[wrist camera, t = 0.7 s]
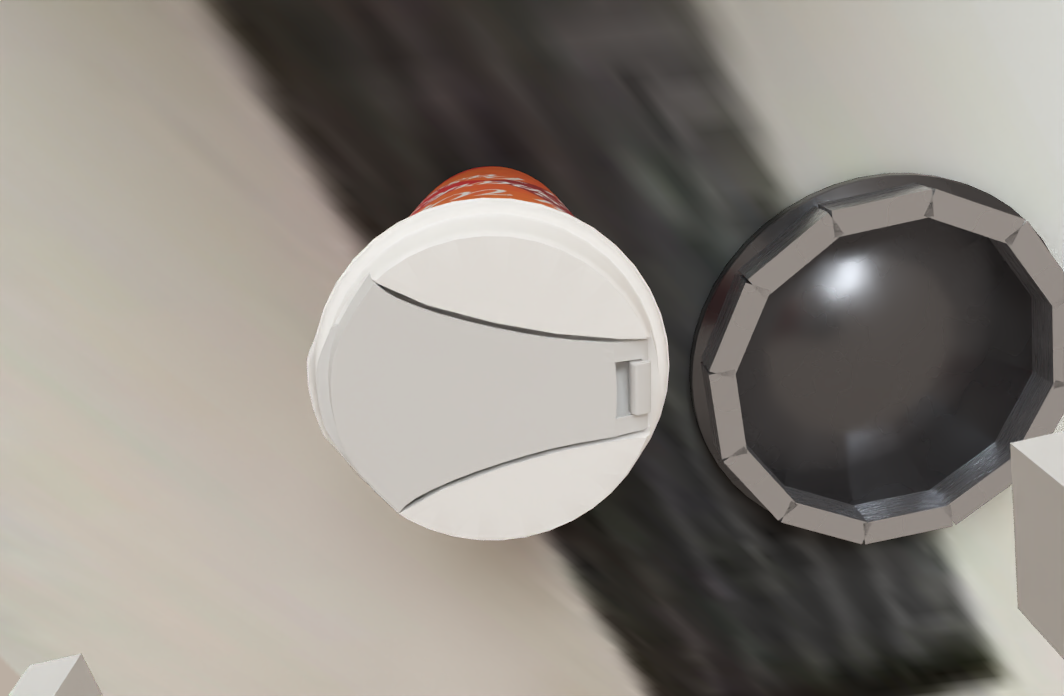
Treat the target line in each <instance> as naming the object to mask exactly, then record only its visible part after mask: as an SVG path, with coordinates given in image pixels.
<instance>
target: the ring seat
mask: <svg viewBox="0 0 1064 696" xmlns="http://www.w3.org/2000/svg"><path fill="white" fill-rule="evenodd" d="M690 389H691V400H692V404H693V408H694V412H695V417H696V421H697V423H698V426H699V428H700V431H701V433H702V436H703V438H704V441H705V443H706V445H707V447H708V448H709V450H710V452H711V454H712V455H713V457H714V459H715V460H716V462H717V464H718V465H719V467H720V468H721V469H722V471H723V472H724V473H725V474H726V476H727V477H728V478H729V479H730V481H731V482H732V483H733V484H734V485H735V486H736V487H737V488H739V489H740V490H741V491H742V492H743V493H744V494H745V495H746V496H747V497H748V498H750V499H751V500H753V501H754V502H756V503H757V504H759V505H760V506H762V507H763V508H764V509H766V510H768V511H770V512H771V513H772V515H773V516H774V517H775V518H776V519H777V520H780V521H781V522H782V523H785V524H789V525H793V526H796V527H800V528H804V529H807V530H811V531H815V532H818V533H822V534H826V535H829V536H833V537H837V538H840V539H844V540H848V541H851V542H855V543H859V544H862V542H864V544H869V543H874V542H879V541H884V540H889V539H893V538H898V537H903V536H908V535H913V534H917V533H922V532H927V531H932V530H937V529H941V528H946V527H951V526H953V525H952V521H953V522H954V523H955V524H958V523H959V522H960V521H962V520H963V519H964V518H966V517H967V516H969V515H970V514H971V513H973V512H974V511H975V510H977V509H978V508H980V507H981V506H982V505H984V504H985V503H987V502H988V501H989V500H991V499H992V498H993V497H995V496H996V495H998V494H999V493H1000V492H1002V491H1003V490H1004V489H1006V488H1007V487H1009V486H1010V485H1011V484H1012V472H1011V450H1010V443H1013V442H1017V441H1021V440H1026V439H1030V438H1035V437H1039V436H1043V435H1048V434H1052V433H1053V432H1054V430H1055V428H1056V426H1057V424H1058V423H1059V421H1060V419H1061V417H1062V415H1063V414H1064V272H1063V270H1062V269H1061V267H1060V266H1059V265H1058V263H1057V262H1056V260H1055V259H1054V258H1053V256H1052V255H1051V253H1050V252H1049V250H1048V248H1047V247H1046V245H1045V243H1044V242H1043V240H1042V239H1041V238H1040V236H1039V235H1038V234H1037V233H1036V232H1035V230H1034V229H1033V228H1032V227H1031V225H1030V224H1029V222H1028V221H1026V220H1025V219H1023V218H1022V217H1021V216H1020V215H1019V214H1018V213H1017V212H1015V211H1014V210H1013V209H1012V208H1011V207H1009V206H1008V205H1006V204H1005V203H1003V202H1001V201H1000V200H998V199H997V198H995V197H993V196H992V195H990V194H988V193H986V192H983V191H981V190H979V189H976V188H974V187H972V186H969V185H967V184H964V183H960V182H957V181H953V180H949V179H945V178H942V177H938V176H932V175H923V174H915V173H888V174H879V175H872V176H866V177H859V178H855V179H852V180H848V181H845V182H841V183H838V184H834V185H832V186H829V187H827V188H825V189H822V190H820V191H818V192H815V193H813V194H811V195H808V196H806V197H805V198H803V199H801V200H799V201H798V202H796V203H794V204H793V205H791V206H789V207H787V208H786V209H784V210H783V211H781V212H780V213H779V214H777V215H776V216H775V217H773V218H772V219H771V220H769V221H768V222H767V223H765V224H764V225H763V226H762V227H761V228H760V229H759V230H758V231H757V232H755V233H754V234H753V235H752V236H751V237H750V238H749V239H748V240H747V241H746V242H745V243H744V244H743V245H742V246H741V248H740V249H739V250H738V251H737V253H736V254H735V255H734V256H733V257H732V259H731V260H730V261H729V262H728V263H727V265H726V266H725V268H724V270H723V271H722V273H721V274H720V276H719V277H718V279H717V281H716V282H715V284H714V285H713V287H712V289H711V291H710V294H709V296H708V298H707V300H706V302H705V304H704V306H703V308H702V311H701V314H700V318H699V321H698V324H697V327H696V330H695V334H694V339H693V345H692V350H691V357H690Z"/></svg>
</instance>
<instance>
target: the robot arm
mask: <svg viewBox="0 0 1064 696" xmlns="http://www.w3.org/2000/svg"><path fill="white" fill-rule="evenodd" d="M1010 450H1011V472H1012V493H1013V514H1014V536H1015V557H1016V578H1017V600H1018V609H1019V610H1020V611H1021V612H1022V614H1023V615H1024V616H1025V617H1026V618H1027V619H1028V620H1029V621H1030V622H1031V624H1032V625H1033V626H1034V627H1035V628H1036V629H1037V630H1038V631H1039V632H1040V634H1041V635H1042V636H1043V637H1044V638H1045V639H1046V640H1047V641H1048V642H1049V644H1050V645H1051V646H1052V647H1053V648H1054V649H1055V650H1056V651H1057V653H1058V654H1059V655H1060V656H1061V657H1062V658H1063V659H1064V431H1061V432H1057V433H1052V434H1048V435H1043V436H1039V437H1035V438H1030V439H1026V440H1021V441H1017V442H1013V443H1010ZM8 696H103V695H102V693H101V691H100V689H99V687H98V685H97V683H96V681H95V679H94V677H93V675H92V673H91V671H90V669H89V667H88V665H87V663H86V661H85V660H84V658H83V656H82V654H77V655H72V656H68V657H64V658H59V659H55V660H50V661H46V662H41V663H37V664H33V665H29V667H28V668H27V669H26V671H25V672H24V674H23V675H22V676H21V678H20V679H19V681H18V682H17V684H16V685H15V686H14V688H13V689H12V691H11V692H10V693H9V695H8Z"/></svg>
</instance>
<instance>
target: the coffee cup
mask: <svg viewBox="0 0 1064 696" xmlns="http://www.w3.org/2000/svg"><path fill="white" fill-rule="evenodd" d="M306 360H307V380H308V389H309V393H310V398H311V402H312V407H313V411H314V414H315V416H316V419H317V421H318V424H319V426H320V429H321V431H322V434H323V436H324V437H325V438H326V439H327V440H328V441H329V442H330V443H331V445H332V446H333V447H334V448H335V449H336V450H337V451H338V452H339V453H340V455H341V456H342V457H343V458H344V459H345V460H346V461H347V463H348V464H349V465H350V466H351V467H352V469H353V470H354V471H355V472H356V473H357V475H358V476H359V477H360V478H361V479H362V480H364V481H365V482H366V483H367V484H368V485H369V486H370V487H371V488H372V489H373V490H374V491H375V492H376V493H377V494H378V495H379V496H380V497H381V498H382V499H383V500H384V501H386V502H387V503H388V504H389V505H390V506H391V507H392V508H393V509H394V510H395V511H396V512H397V513H398V514H399V515H401V516H403V517H404V518H406V519H407V520H410V521H412V522H414V523H416V524H418V525H421V526H423V527H425V528H427V529H430V530H433V531H436V532H439V533H443V534H446V535H450V536H453V537H460V538H467V539H473V540H508V539H516V538H523V537H528V536H532V535H536V534H539V533H543V532H547V531H550V530H552V529H554V528H557V527H559V526H561V525H564V524H566V523H568V522H571V521H573V520H574V519H576V518H578V517H579V516H581V515H583V514H584V513H586V512H588V511H589V510H591V509H592V508H594V507H595V506H596V505H597V504H599V503H600V502H601V501H602V500H603V499H605V498H606V497H607V496H608V495H609V494H611V493H612V492H613V491H614V489H615V488H616V487H617V486H618V485H619V484H620V483H621V482H622V480H623V479H624V478H625V477H626V476H627V475H628V473H629V472H630V470H631V469H632V467H633V466H634V464H635V463H636V461H637V459H638V458H639V456H640V455H641V453H642V451H643V450H644V448H645V447H646V445H647V444H648V442H649V441H650V439H651V436H652V434H653V432H654V430H655V428H656V425H657V423H658V421H659V419H660V416H661V412H662V409H663V405H664V401H665V397H666V393H667V386H668V375H669V354H668V341H667V336H666V332H665V328H664V324H663V320H662V316H661V313H660V310H659V308H658V306H657V304H656V301H655V299H654V297H653V294H652V292H651V290H650V288H649V287H648V285H647V284H646V282H645V280H644V279H643V277H642V276H641V274H640V273H639V271H638V270H637V268H636V267H635V265H634V264H633V263H632V262H631V261H630V260H629V259H628V258H627V257H626V256H625V254H624V253H623V252H622V251H621V250H620V249H619V248H618V247H617V246H616V245H615V244H614V243H613V242H611V241H610V240H609V239H607V238H606V237H605V236H604V235H602V234H601V233H600V232H598V231H597V230H596V229H595V228H593V227H591V226H590V225H588V224H586V223H584V222H582V221H580V220H579V219H577V218H575V217H574V216H573V215H572V213H571V212H570V211H569V210H568V209H567V208H566V206H565V205H564V204H563V203H562V202H561V201H560V200H559V199H558V198H557V197H556V196H555V195H554V194H553V193H552V192H551V191H550V190H549V189H548V188H547V187H546V186H544V185H543V184H542V183H540V182H539V181H538V180H536V179H534V178H533V177H531V176H529V175H527V174H525V173H523V172H520V171H517V170H514V169H510V168H505V167H497V166H486V167H478V168H473V169H469V170H466V171H463V172H461V173H458V174H456V175H454V176H452V177H451V178H449V179H447V180H446V181H444V182H443V183H441V184H440V185H439V186H438V187H436V188H435V189H434V190H433V191H432V192H431V193H430V194H429V195H428V196H427V197H426V198H425V199H424V200H423V201H422V202H421V203H420V205H419V206H418V207H417V208H416V209H415V210H414V211H413V213H412V214H411V215H410V216H409V217H408V218H406V219H404V220H402V221H400V222H398V223H396V224H395V225H393V226H392V227H390V228H389V229H387V230H386V231H385V232H383V233H382V234H380V235H379V236H377V237H376V238H375V239H373V240H372V241H371V242H370V243H369V244H368V245H367V246H366V247H365V248H364V249H363V250H362V251H361V252H360V253H359V254H358V255H357V256H356V257H355V258H354V259H353V260H352V261H351V263H350V264H349V266H348V267H347V268H346V270H345V271H344V272H343V274H342V275H341V276H340V278H339V279H338V281H337V282H336V284H335V286H334V288H333V290H332V292H331V294H330V296H329V298H328V300H327V302H326V304H325V306H324V309H323V312H322V315H321V319H320V322H319V325H318V329H317V332H316V335H315V338H314V340H313V343H312V346H311V348H310V351H309V354H308V357H307V359H306Z"/></svg>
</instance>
